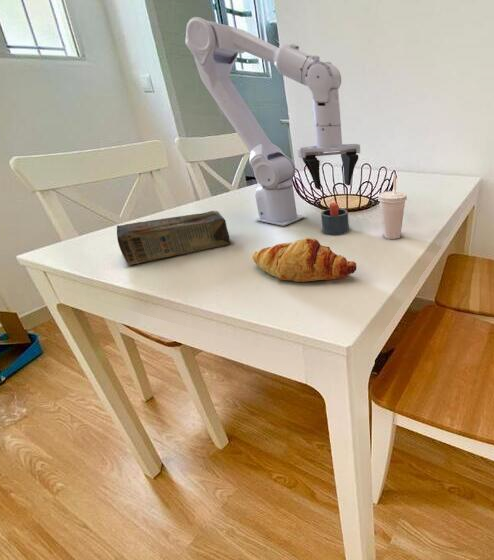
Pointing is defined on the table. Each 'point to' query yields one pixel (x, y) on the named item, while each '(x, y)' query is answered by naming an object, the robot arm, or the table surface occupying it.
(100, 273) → the table surface
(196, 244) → the coffee bag
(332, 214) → the red rectangular block
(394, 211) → the smoothie
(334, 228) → the cup
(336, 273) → the croissant
